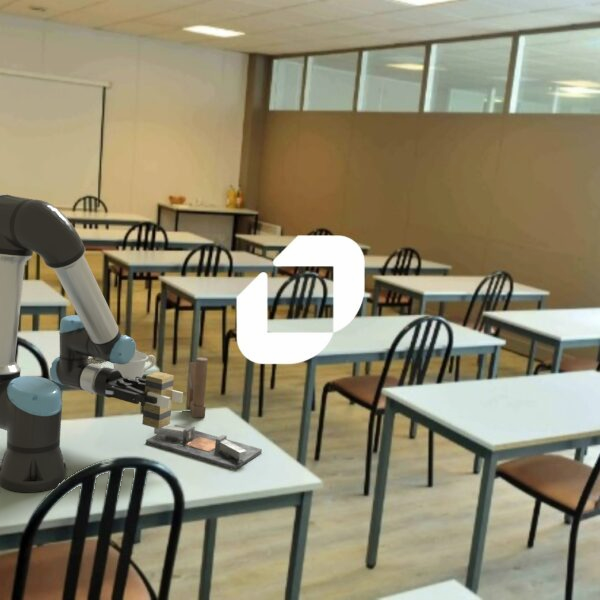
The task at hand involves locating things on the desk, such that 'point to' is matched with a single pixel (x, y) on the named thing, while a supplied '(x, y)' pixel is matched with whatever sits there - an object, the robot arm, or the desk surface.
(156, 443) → the base
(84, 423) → the desk surface
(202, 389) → the wooden block
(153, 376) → the banded tan block
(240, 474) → the desk surface
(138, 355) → the teacup
